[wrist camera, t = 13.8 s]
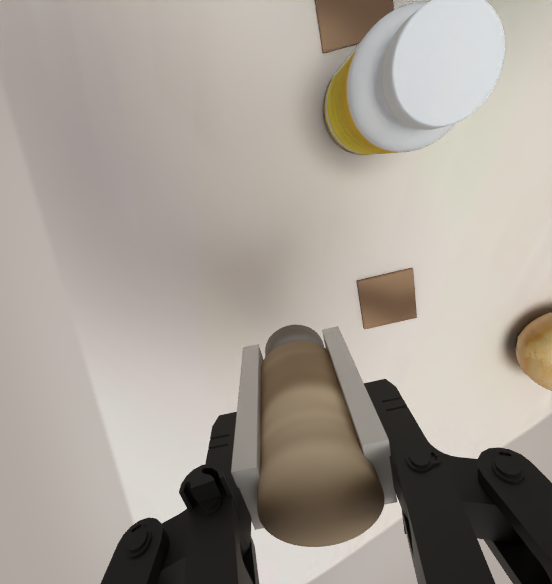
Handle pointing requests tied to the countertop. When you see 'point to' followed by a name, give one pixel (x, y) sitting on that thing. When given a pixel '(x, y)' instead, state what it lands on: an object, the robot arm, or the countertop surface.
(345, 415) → the tan wooden cylinder
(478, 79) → the pill bottle
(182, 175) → the countertop surface
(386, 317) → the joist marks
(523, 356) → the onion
